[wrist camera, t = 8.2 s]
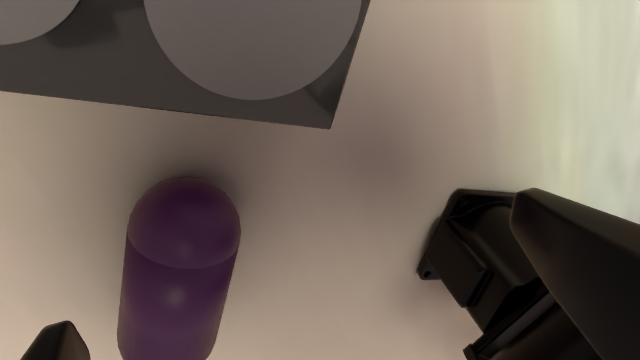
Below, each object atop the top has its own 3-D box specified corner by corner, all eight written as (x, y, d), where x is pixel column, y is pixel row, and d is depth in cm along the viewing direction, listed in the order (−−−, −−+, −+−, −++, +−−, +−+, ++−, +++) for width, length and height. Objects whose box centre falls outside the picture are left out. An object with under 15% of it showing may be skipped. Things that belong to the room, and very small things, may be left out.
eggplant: (131, 152, 20) (131, 219, 17) (239, 161, 22) (261, 223, 18) (113, 347, 26) (110, 428, 22) (200, 341, 28) (210, 415, 24)
